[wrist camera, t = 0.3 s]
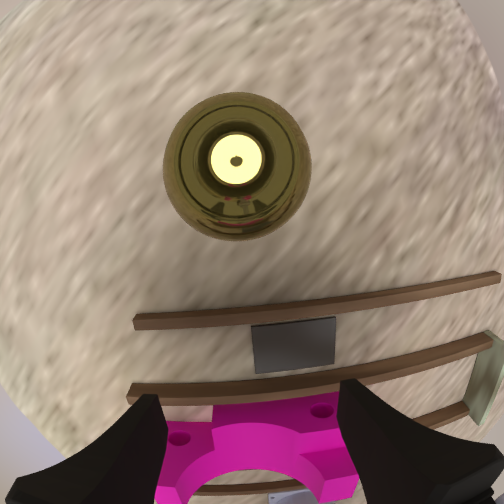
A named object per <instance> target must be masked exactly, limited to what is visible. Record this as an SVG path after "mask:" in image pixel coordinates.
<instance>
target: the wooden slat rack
mask: <svg viewBox="0 0 504 504" xmlns="http://www.w3.org/2000/svg"><path fill="white" fill-rule="evenodd" d="M501 275H502V274H500V273H498V272H496V271H492V272H487V273H482V274H477V275H472V276H467V277H462V278H456V279H451V280H445V281H440V282H434V283H428V284H422V285H416V286H410V287H404V288H397V289H391V290H384V291H378V292H371V293H364V294H356V295H349V296H341V297H333V298H325V299H317V300H308V301H300V302H290V303H281V304H271V305H261V306H250V307H239V308H227V309H214V310H200V311H185V312H168V313H149V314H136V316H135V317H134V318H133V325H134V329H135V330H163V329H184V328H201V327H216V326H229V325H241V324H253V323H263V322H273V321H283V320H292V319H300V318H309V317H317V316H324V315H332V314H339V313H346V312H353V311H360V310H366V309H373V308H379V307H385V306H391V305H397V304H402V303H408V302H413V301H419V300H424V299H429V298H434V297H439V296H444V295H449V294H453V293H458V292H463V291H467V290H472V289H476V288H480V287H484V286H489V285H493V284H497V283H500V281H501ZM251 329H252V340H253V351H254V361H255V371H256V374H260V373H270V372H279V371H288V370H296V369H303V368H311V367H317V366H324V365H330V364H334V358H335V337H336V317H328V318H321V319H313V320H305V321H297V322H288V323H279V324H269V325H259V326H251ZM476 353H478V355H477V359H476V362H475V366H474V369H473V372H472V375H471V378H470V382H469V385H468V387H467V390H466V393H465V396H464V399H463V401H461V402H458V403H456V404H453V405H451V406H448V407H446V408H443V409H440V410H438V411H435V412H432V413H429V414H427V415H424V416H421V417H418V418H415V419H412V420H414V421H416V422H418V423H420V424H422V425H424V426H426V427H428V428H430V429H433V430H434V429H436V428H439V427H441V426H444V425H446V424H449V423H451V422H453V421H456V420H458V419H460V418H463V417H465V416H467V415H469V416H470V417H471V418H472V419H473V421H474V422H475V423H476V424H477V425H478V426H480V425H482V424H484V422H485V420H486V417H487V415H488V413H489V411H490V409H491V406H492V404H493V402H494V399H495V397H496V394H497V392H498V389H499V387H500V384H501V382H502V379H503V376H504V341H503V340H502V339H500V338H499V337H498V336H496V335H495V334H493V333H492V332H491V331H489V330H488V331H485V332H482V333H479V334H476V335H473V336H470V337H467V338H464V339H461V340H457V341H454V342H451V343H447V344H444V345H441V346H437V347H434V348H430V349H426V350H422V351H419V352H415V353H411V354H407V355H403V356H399V357H394V358H390V359H385V360H381V361H376V362H371V363H367V364H362V365H356V366H351V367H346V368H340V369H334V370H328V371H322V372H315V373H308V374H301V375H293V376H285V377H277V378H267V379H257V380H246V381H232V382H216V383H191V384H133V383H132V385H131V387H130V389H129V391H128V394H127V396H126V398H127V401H128V403H129V404H130V405H133V404H134V403H135V402H136V401H137V400H138V399H139V398H140V397H141V396H142V395H143V394H158V398H159V401H160V404H161V406H198V405H224V404H240V403H253V402H264V401H273V400H282V399H290V398H298V397H305V396H312V395H318V394H324V393H330V392H336V391H339V389H340V381H341V380H346V379H352V378H355V379H357V380H358V381H359V382H360V383H362V384H363V385H364V386H366V385H370V384H375V383H379V382H383V381H388V380H392V379H396V378H399V377H403V376H407V375H411V374H414V373H418V372H421V371H425V370H428V369H431V368H435V367H438V366H441V365H444V364H447V363H450V362H453V361H456V360H459V359H462V358H465V357H468V356H470V355H473V354H476ZM245 470H253V469H245ZM304 488H307V487H306V486H305V485H304V484H302V483H301V482H300V481H298V480H296V479H294V480H286V481H278V482H268V483H257V484H241V485H202V486H201V487H199V488H198V489H197V490H196V491H195V493H194V494H193V495H199V496H224V495H248V494H262V493H273V492H282V491H290V490H297V489H304Z"/></svg>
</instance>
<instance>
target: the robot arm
mask: <svg viewBox="0 0 504 504" xmlns="http://www.w3.org/2000/svg"><path fill="white" fill-rule="evenodd" d="M336 417H337V421H338V425H339V429H340V432H341V436H342V438H343V441H344V443H345V445H346V448H347V450H348V452H349V455H350V457H351V459H352V462H353V464H354V466H355V468H356V471H357V473H358V475H359V478H360V480H361V483H362V486H363V490H364V493H365V497H366V501H367V504H504V493H503V494H502V495H501V496H499V497H498V498H497V499H496V500H495V501H494V500H493V498H492V497H491V496H492V495H493V494H494V491H493V489H492V488H491V486H492V484H493V483H494V482H495V480H496V479H497V478H498V476H499V475H500V474H501V472H502V471H503V469H504V456H503V454H502V453H501V452H500V451H499V449H498V448H497V447H496V446H495V445H494V444H486V443H479V442H472V441H468V440H464V439H459V438H456V437H452V436H449V435H446V434H443V433H441V432H438V431H435V430H433V429H430V428H428V427H426V426H424V425H422V424H420V423H418V422H416V421H414V420H412V419H410V418H408V417H407V416H405V415H404V414H402V413H400V412H399V411H397V410H396V409H394V408H393V407H391V406H390V405H388V404H387V403H386V402H384V401H383V400H382V399H380V398H379V397H378V396H376V395H375V394H374V393H373V392H371V391H370V390H369V389H368V388H367V387H365V386H364V385H363V384H362V383H360V382H359V381H358V380H357V379H355V378H352V379H346V380H341V381H340V389H339V398H338V407H337V415H336ZM167 439H168V426H167V423H166V420H165V417H164V414H163V411H162V407H161V404H160V401H159V398H158V394H143V395H142V396H141V397H140V398H139V399H138V400H137V401H136V402H135V403H134V404H133V405H132V406H131V407H130V408H129V409H128V410H127V411H126V412H125V413H124V414H123V415H122V416H121V417H120V418H119V419H118V420H117V421H116V422H115V423H114V424H113V425H112V426H111V427H110V428H109V429H108V430H107V431H105V432H104V433H103V434H102V435H101V436H100V437H99V438H97V439H96V440H95V441H94V442H92V443H91V444H90V445H88V446H87V447H85V448H84V449H83V450H81V451H79V452H78V453H76V454H74V455H73V456H71V457H69V458H67V459H66V460H64V461H62V462H60V463H58V464H56V465H54V466H51V467H49V468H47V469H44V470H42V471H39V472H36V473H33V474H29V475H26V476H22V477H18V478H17V479H16V480H15V482H14V484H13V486H12V487H11V489H10V491H9V493H8V495H7V497H6V498H5V502H6V504H154V497H155V492H156V488H157V484H158V480H159V476H160V472H161V468H162V465H163V461H164V457H165V453H166V447H167ZM268 500H269V504H319V503H318V501H317V499H316V497H315V496H314V494H313V493H312V492H311V491H310V490H309V489H308V488H304V489H297V490H290V491H282V492H273V493H268ZM320 504H335V501H331V502H326V503H320Z"/></svg>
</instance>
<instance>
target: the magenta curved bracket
mask: <svg viewBox="0 0 504 504" xmlns="http://www.w3.org/2000/svg"><path fill="white" fill-rule="evenodd" d="M338 398H339V391H338V392H331V393H324V394H318V395H312V396H305V397H298V398H290V399H282V400H273V401H264V402H253V403H240V404H224V405H213V415H212V422H178V421H166V423H167V426H168V439H167V447H166V453H165V457H164V461H163V465H162V468H161V472H160V476H159V480H158V484H157V488H156V492H155V497H154V498H155V500H156V502H157V503H158V504H187V503H188V501H189V499H190V498H191V496H192V495H193V494H194V493H195V491H196V490H197V489H198V488H199V487H201V486H202V485H203V484H205V483H206V482H208V481H209V480H211V479H213V478H215V477H217V476H220V475H222V474H225V473H228V472H232V471H237V470H245V469H263V470H270V471H275V472H279V473H283V474H285V475H288V476H290V477H292V478H294V479H296V480H298V481H300V482H301V483H302V484H304V485H305V486H306V487H307V488H308V489H309V490H310V491H311V492H312V493H313V494H314V496H315V497H316V499H317V501H318V503H319V504H320V503H326V502H331V501H336V500H341V499H346V498H350V497H352V495H353V493H354V490H355V488H356V485H357V483H358V480H359V475H358V473H357V471H356V468H355V466H354V464H353V462H352V459H351V457H350V455H349V452H348V450H347V448H346V445H345V443H344V441H343V438H342V436H341V432H340V429H339V425H338V421H337V417H336V415H337V407H338Z"/></svg>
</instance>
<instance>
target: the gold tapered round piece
mask: <svg viewBox="0 0 504 504" xmlns="http://www.w3.org/2000/svg"><path fill="white" fill-rule="evenodd" d="M311 171H312V163H311V155H310V150H309V146H308V143H307V141H306V138H305V136H304V134H303V132H302V131H301V129H300V127H299V125H298V124H297V122H296V121H295V120H294V118H293V117H292V116H291V115H290V114H289V113H288V112H287V111H286V110H285V109H284V108H282V107H281V106H280V105H278V104H277V103H275V102H274V101H272V100H270V99H268V98H265V97H263V96H260V95H256V94H252V93H245V92H230V93H223V94H219V95H216V96H213V97H210V98H208V99H206V100H204V101H202V102H200V103H198V104H197V105H195V106H194V107H193V108H191V109H190V110H189V111H188V112H187V113H186V114H185V115H184V116H183V117H182V118H181V119H180V121H179V122H178V123H177V125H176V126H175V128H174V130H173V132H172V134H171V136H170V138H169V141H168V144H167V146H166V150H165V154H164V159H163V179H164V185H165V189H166V192H167V195H168V197H169V199H170V202H171V204H172V205H173V207H174V209H175V210H176V211H177V213H178V214H179V215H180V216H181V218H182V219H183V220H184V221H185V222H186V223H188V224H189V225H190V226H191V227H193V228H194V229H196V230H197V231H199V232H201V233H203V234H205V235H207V236H209V237H212V238H215V239H219V240H225V241H248V240H253V239H257V238H260V237H263V236H265V235H268V234H270V233H272V232H274V231H275V230H277V229H278V228H280V227H281V226H283V225H284V224H285V223H286V222H287V221H288V220H289V219H290V218H291V217H292V216H293V215H294V214H295V213H296V212H297V210H298V209H299V207H300V206H301V204H302V202H303V201H304V198H305V196H306V194H307V191H308V188H309V184H310V180H311Z"/></svg>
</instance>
